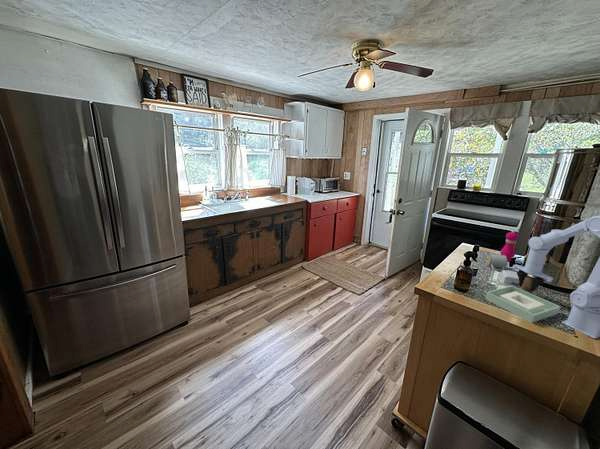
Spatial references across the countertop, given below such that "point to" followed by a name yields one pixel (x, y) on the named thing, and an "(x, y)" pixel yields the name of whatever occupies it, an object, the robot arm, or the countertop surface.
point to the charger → (510, 277)
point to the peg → (527, 284)
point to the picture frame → (548, 309)
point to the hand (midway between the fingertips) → (527, 288)
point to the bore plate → (523, 302)
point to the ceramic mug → (497, 262)
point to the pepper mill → (509, 245)
